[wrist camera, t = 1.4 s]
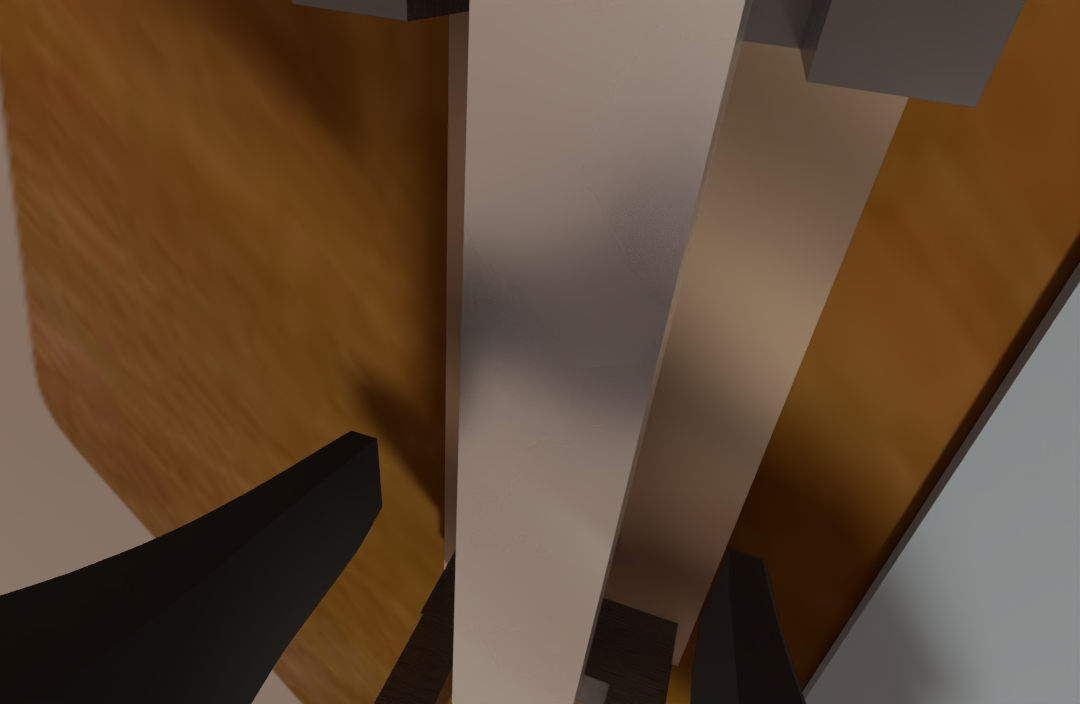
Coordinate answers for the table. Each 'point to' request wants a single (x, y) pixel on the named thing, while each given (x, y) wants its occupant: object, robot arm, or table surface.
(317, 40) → the table surface
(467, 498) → the rail
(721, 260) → the rack
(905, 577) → the mat
